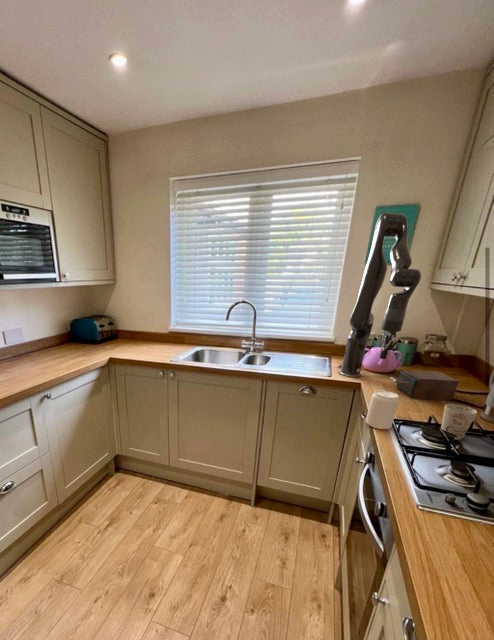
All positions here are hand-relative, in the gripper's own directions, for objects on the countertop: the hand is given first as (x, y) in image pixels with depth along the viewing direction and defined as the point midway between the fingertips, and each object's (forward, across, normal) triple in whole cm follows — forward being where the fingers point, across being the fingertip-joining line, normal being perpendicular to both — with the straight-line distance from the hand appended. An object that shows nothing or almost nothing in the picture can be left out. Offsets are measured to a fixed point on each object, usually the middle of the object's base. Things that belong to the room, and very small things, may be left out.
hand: (382, 358), depth 147 cm
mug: (+15, -42, -10) cm, 45 cm away
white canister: (+15, -40, +13) cm, 44 cm away
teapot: (+16, +36, -16) cm, 43 cm away
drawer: (+14, 0, -17) cm, 22 cm away
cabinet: (+15, 0, -22) cm, 26 cm away
